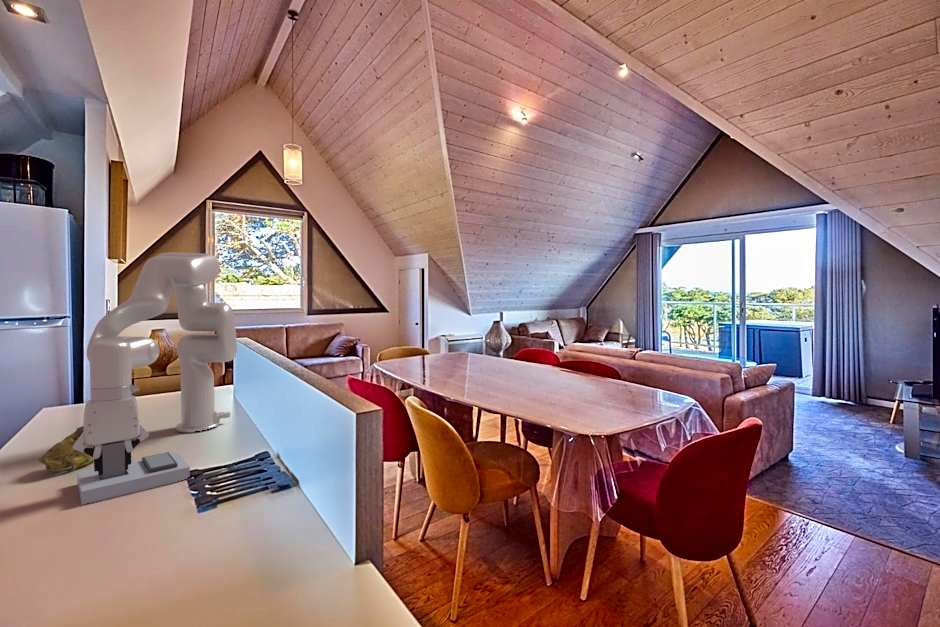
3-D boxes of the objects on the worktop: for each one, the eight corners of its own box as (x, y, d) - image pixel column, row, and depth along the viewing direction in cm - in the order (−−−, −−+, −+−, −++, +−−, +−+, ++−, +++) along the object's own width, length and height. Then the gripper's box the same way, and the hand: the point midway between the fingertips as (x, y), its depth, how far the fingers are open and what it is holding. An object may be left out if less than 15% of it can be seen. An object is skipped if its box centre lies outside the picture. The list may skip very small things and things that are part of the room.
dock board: (176, 462, 119) (176, 448, 118) (189, 478, 109) (189, 462, 108) (77, 484, 105) (77, 467, 105) (81, 505, 95) (81, 486, 95)
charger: (122, 474, 107) (122, 436, 106) (125, 479, 104) (124, 441, 103) (101, 479, 104) (100, 440, 103) (103, 484, 101) (102, 445, 100)
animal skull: (130, 443, 123) (114, 416, 118) (72, 488, 111) (51, 460, 106) (106, 437, 126) (89, 411, 121) (47, 480, 113) (25, 452, 108)
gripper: (152, 386, 111) (153, 457, 112) (62, 396, 100) (64, 475, 101) (158, 391, 106) (159, 466, 107) (63, 402, 94) (65, 486, 95)
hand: (113, 469), depth 104 cm, fingers closed on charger, 4 cm apart
